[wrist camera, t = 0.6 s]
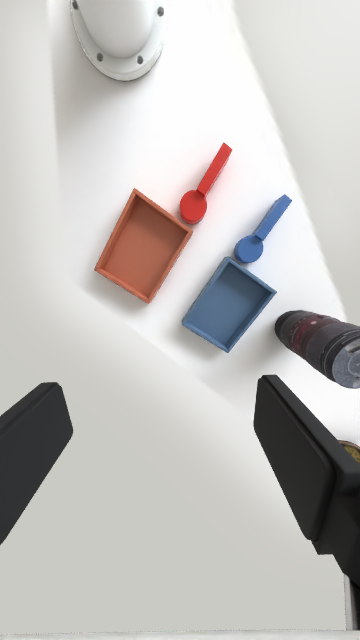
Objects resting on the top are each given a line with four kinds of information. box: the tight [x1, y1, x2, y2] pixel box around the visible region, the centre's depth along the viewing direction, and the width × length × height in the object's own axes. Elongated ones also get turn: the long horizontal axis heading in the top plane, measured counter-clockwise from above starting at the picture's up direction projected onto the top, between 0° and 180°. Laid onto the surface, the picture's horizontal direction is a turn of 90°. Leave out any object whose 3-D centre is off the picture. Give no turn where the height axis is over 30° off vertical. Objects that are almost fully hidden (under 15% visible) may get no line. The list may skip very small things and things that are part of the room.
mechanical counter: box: [338, 440, 360, 464], centre depth 41 cm, size 7×13×10 cm
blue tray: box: [182, 257, 277, 353], centre depth 33 cm, size 15×11×2 cm
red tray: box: [94, 188, 193, 304], centre depth 30 cm, size 15×11×2 cm
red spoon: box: [180, 143, 232, 224], centre depth 28 cm, size 11×4×3 cm, turn 147°
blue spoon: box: [234, 194, 292, 263], centre depth 29 cm, size 11×4×3 cm, turn 147°
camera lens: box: [275, 310, 360, 389], centre depth 28 cm, size 8×8×15 cm
